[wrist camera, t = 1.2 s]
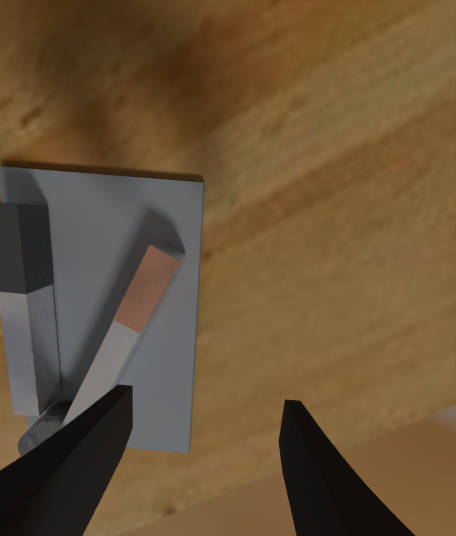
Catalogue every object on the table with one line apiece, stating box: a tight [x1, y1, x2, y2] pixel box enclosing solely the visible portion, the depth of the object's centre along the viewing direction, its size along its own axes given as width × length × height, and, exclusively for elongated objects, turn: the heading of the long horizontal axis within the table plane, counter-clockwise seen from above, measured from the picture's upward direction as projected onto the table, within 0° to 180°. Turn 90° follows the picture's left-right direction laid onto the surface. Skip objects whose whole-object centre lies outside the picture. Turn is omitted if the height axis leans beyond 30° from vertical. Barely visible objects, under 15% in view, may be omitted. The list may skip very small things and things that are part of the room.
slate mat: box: [0, 166, 205, 454], centre depth 20 cm, size 24×15×1 cm, turn 175°
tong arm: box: [18, 241, 186, 457], centre depth 18 cm, size 20×4×3 cm, turn 151°
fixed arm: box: [0, 202, 61, 416], centre depth 18 cm, size 16×2×2 cm, turn 176°
